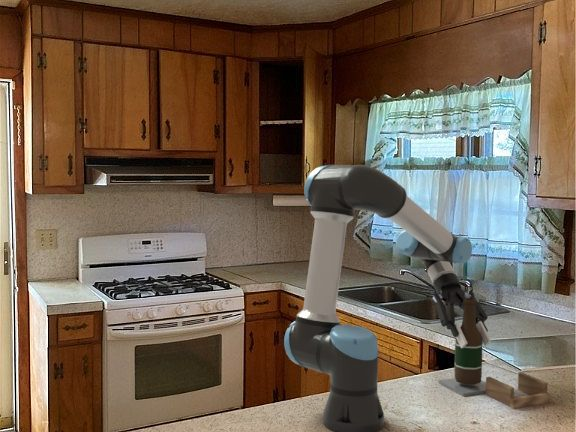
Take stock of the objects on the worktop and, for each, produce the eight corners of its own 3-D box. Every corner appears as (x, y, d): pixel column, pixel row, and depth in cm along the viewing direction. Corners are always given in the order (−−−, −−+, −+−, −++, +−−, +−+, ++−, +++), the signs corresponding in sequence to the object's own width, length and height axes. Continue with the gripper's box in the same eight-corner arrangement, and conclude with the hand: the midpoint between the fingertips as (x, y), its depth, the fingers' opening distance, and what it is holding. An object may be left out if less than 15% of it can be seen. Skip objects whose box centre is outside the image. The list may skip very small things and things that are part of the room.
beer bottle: (462, 386, 178) (465, 302, 176) (448, 377, 185) (450, 296, 184) (487, 383, 180) (489, 300, 178) (472, 375, 187) (474, 295, 186)
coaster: (463, 396, 175) (463, 393, 175) (438, 382, 186) (438, 380, 186) (498, 391, 179) (498, 388, 179) (472, 378, 190) (472, 375, 190)
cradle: (513, 408, 166) (513, 389, 166) (485, 394, 177) (486, 377, 176) (550, 402, 170) (550, 384, 170) (521, 389, 181) (521, 372, 181)
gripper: (466, 284, 199) (499, 347, 185) (410, 288, 192) (440, 354, 178) (477, 269, 194) (511, 334, 180) (420, 273, 186) (451, 340, 172)
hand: (476, 344), depth 179 cm, fingers closed on beer bottle, 7 cm apart
